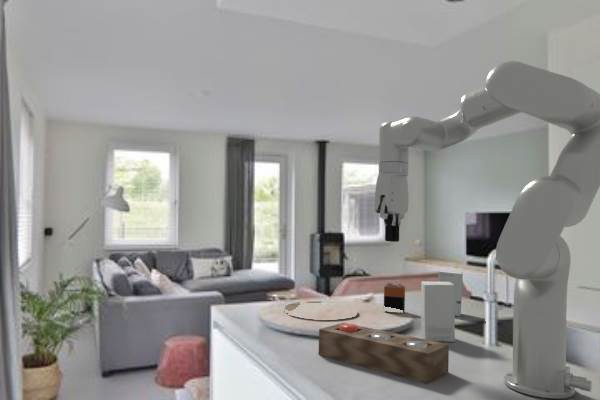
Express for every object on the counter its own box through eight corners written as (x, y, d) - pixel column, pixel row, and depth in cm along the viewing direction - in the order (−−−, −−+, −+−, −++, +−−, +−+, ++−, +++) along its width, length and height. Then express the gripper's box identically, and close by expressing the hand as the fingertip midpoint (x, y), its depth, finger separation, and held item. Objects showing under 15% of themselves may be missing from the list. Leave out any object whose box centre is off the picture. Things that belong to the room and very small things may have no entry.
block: (448, 372, 103) (448, 344, 103) (427, 383, 95) (428, 353, 95) (342, 346, 121) (343, 322, 121) (318, 354, 113) (319, 329, 114)
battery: (385, 310, 170) (385, 282, 170) (404, 311, 168) (405, 283, 168) (383, 312, 166) (384, 283, 166) (403, 314, 163) (403, 285, 164)
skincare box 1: (450, 336, 134) (451, 281, 134) (455, 343, 127) (456, 284, 128) (419, 335, 134) (420, 280, 135) (423, 341, 128) (424, 283, 128)
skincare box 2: (436, 314, 164) (437, 271, 165) (437, 311, 170) (438, 269, 171) (461, 316, 162) (462, 273, 162) (462, 313, 167) (462, 271, 168)
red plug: (360, 348, 114) (361, 325, 114) (350, 351, 111) (350, 328, 111) (345, 344, 117) (346, 322, 117) (335, 347, 114) (335, 325, 114)
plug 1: (393, 358, 108) (394, 335, 109) (383, 363, 105) (384, 339, 105) (377, 354, 111) (377, 332, 111) (366, 358, 108) (367, 335, 108)
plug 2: (430, 368, 102) (431, 343, 103) (421, 372, 99) (421, 347, 99) (412, 363, 105) (412, 339, 106) (402, 368, 102) (402, 343, 102)
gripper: (394, 173, 131) (393, 240, 130) (365, 168, 119) (363, 241, 119) (420, 172, 126) (418, 241, 125) (391, 167, 114) (390, 243, 114)
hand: (391, 241), depth 122 cm, fingers closed
